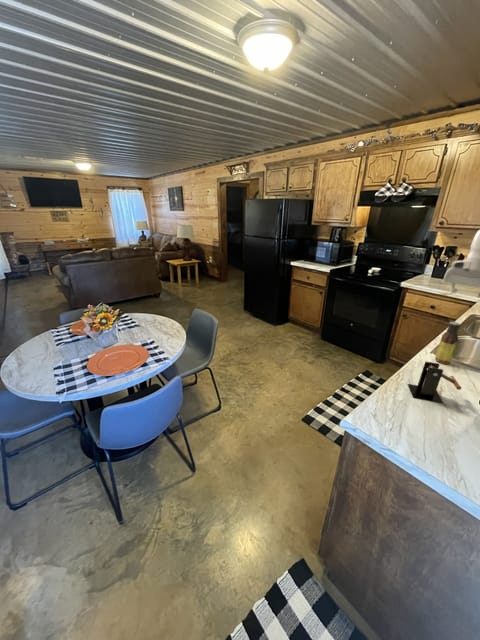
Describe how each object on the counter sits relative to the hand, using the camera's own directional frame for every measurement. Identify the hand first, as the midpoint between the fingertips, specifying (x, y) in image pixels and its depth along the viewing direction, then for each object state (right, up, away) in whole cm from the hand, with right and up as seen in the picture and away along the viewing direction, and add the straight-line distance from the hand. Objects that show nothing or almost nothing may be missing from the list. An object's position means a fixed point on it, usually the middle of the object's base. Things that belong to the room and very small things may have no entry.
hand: (466, 294), depth 121 cm
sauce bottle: (-7, -32, +6) cm, 33 cm away
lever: (-29, -33, -22) cm, 49 cm away
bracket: (-32, -41, -17) cm, 55 cm away
